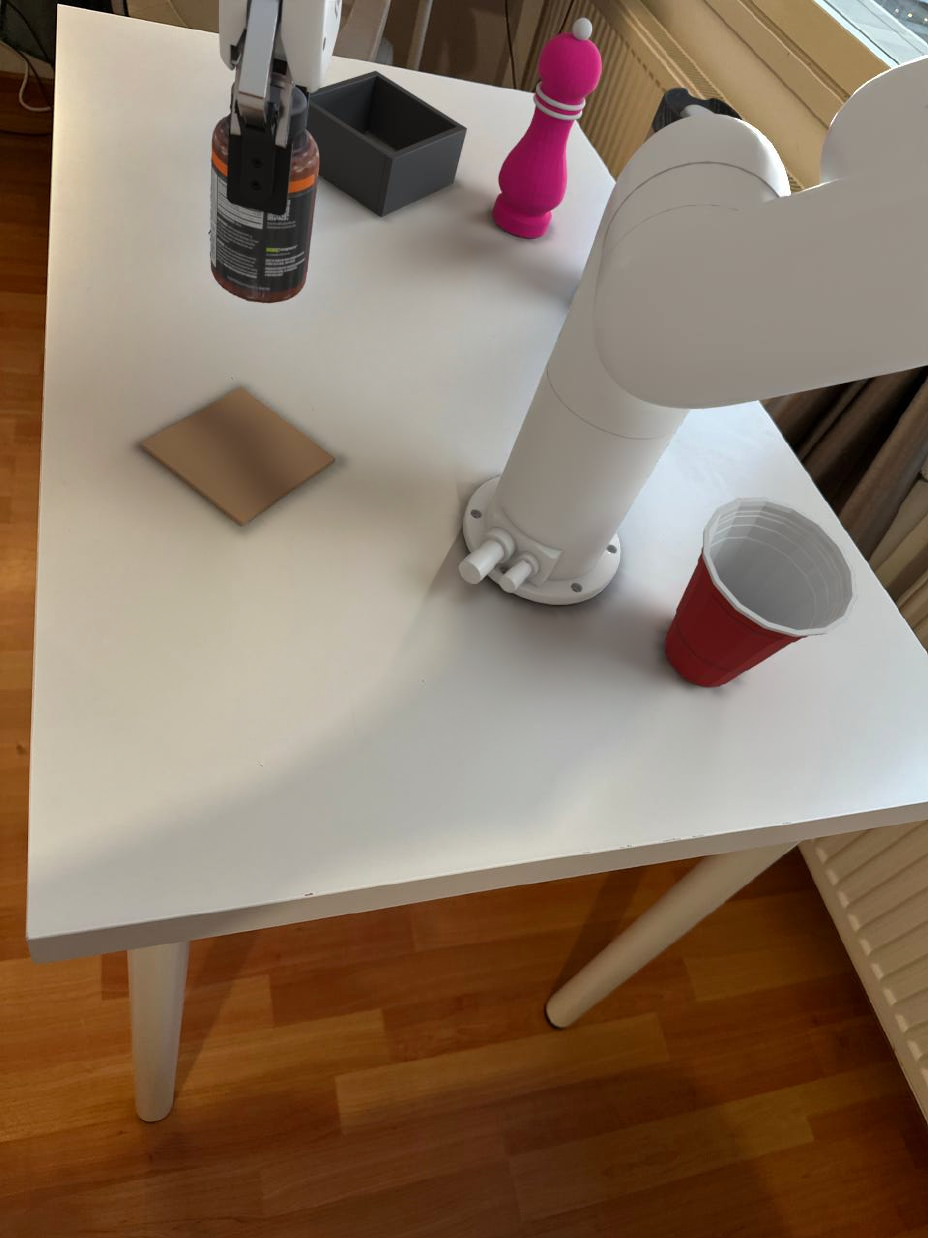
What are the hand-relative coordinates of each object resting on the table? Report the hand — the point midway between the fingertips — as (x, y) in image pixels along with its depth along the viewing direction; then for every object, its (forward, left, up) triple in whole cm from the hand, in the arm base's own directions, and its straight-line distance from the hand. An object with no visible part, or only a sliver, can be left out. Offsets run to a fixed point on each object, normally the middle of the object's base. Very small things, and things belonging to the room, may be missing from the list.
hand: (267, 172), depth 50 cm
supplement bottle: (0, 0, -7) cm, 7 cm away
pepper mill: (+47, +5, -22) cm, 52 cm away
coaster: (-1, -1, -21) cm, 21 cm away
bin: (+40, +20, -21) cm, 50 cm away
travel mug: (+43, -10, -21) cm, 49 cm away
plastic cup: (+10, -37, -22) cm, 44 cm away
